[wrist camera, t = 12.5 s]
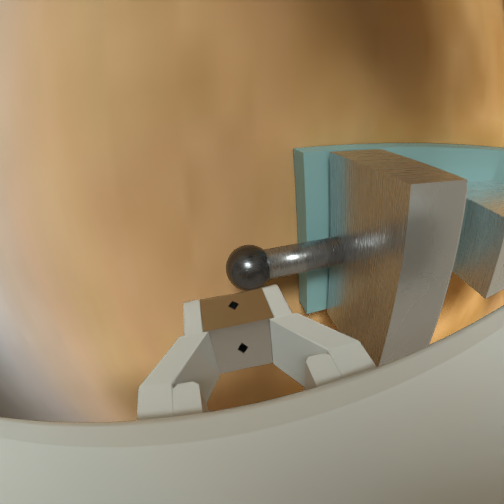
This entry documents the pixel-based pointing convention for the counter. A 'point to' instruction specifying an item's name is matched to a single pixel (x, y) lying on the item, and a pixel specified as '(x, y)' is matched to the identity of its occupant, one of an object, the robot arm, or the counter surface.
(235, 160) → the counter surface
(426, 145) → the vise
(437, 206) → the jaw
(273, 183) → the counter surface
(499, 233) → the block
